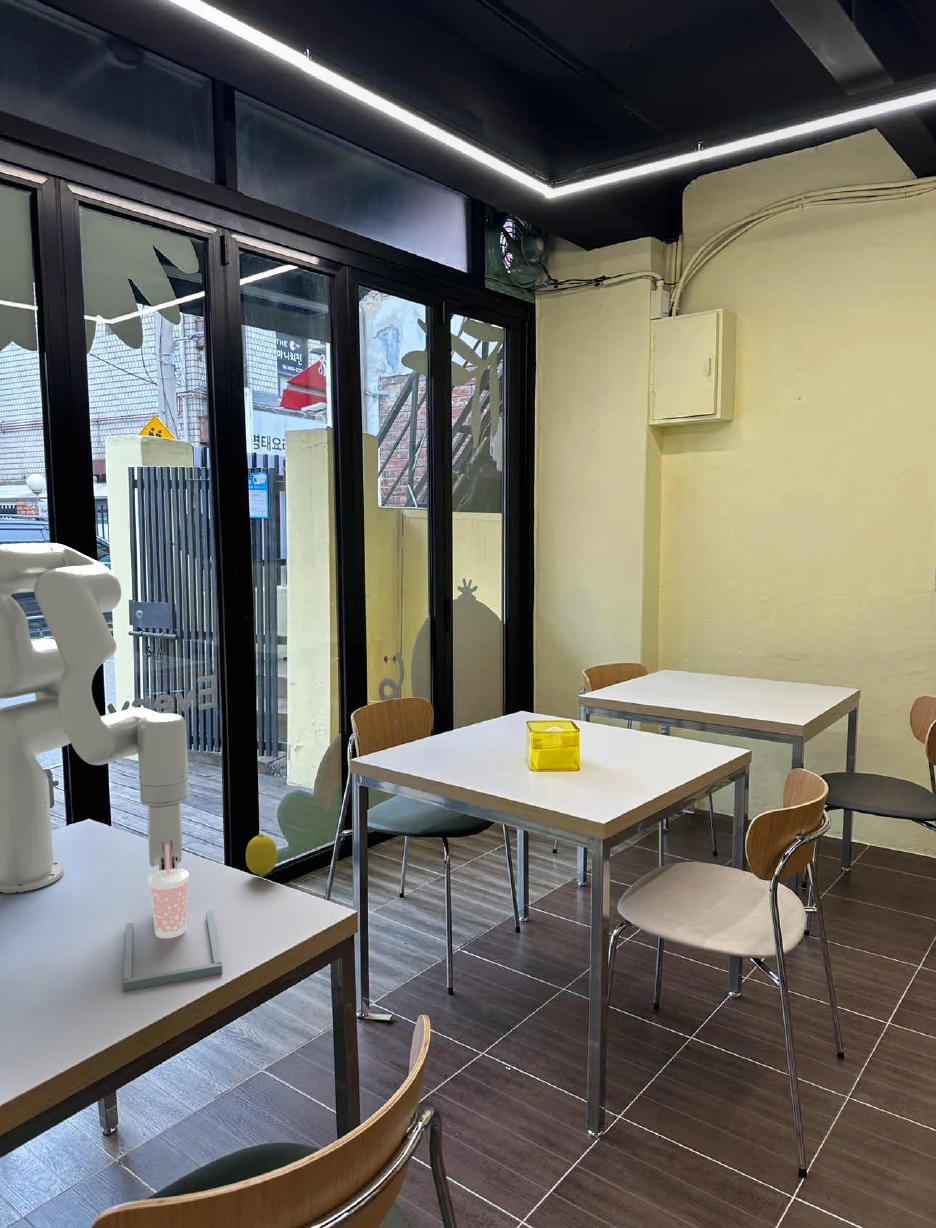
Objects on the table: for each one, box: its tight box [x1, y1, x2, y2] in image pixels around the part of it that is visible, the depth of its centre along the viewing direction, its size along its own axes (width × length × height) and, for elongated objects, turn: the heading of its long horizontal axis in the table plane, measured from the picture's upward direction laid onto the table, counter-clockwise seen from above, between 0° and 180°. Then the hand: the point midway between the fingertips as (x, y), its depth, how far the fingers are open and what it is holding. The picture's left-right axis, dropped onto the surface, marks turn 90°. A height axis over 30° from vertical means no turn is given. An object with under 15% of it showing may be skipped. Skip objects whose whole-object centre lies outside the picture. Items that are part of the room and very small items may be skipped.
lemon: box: [245, 833, 278, 878], centre depth 155 cm, size 6×6×8 cm
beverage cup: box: [147, 844, 190, 939], centre depth 134 cm, size 6×6×14 cm
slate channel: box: [122, 910, 223, 992], centre depth 129 cm, size 18×13×1 cm
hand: (169, 898), depth 142 cm, fingers closed
